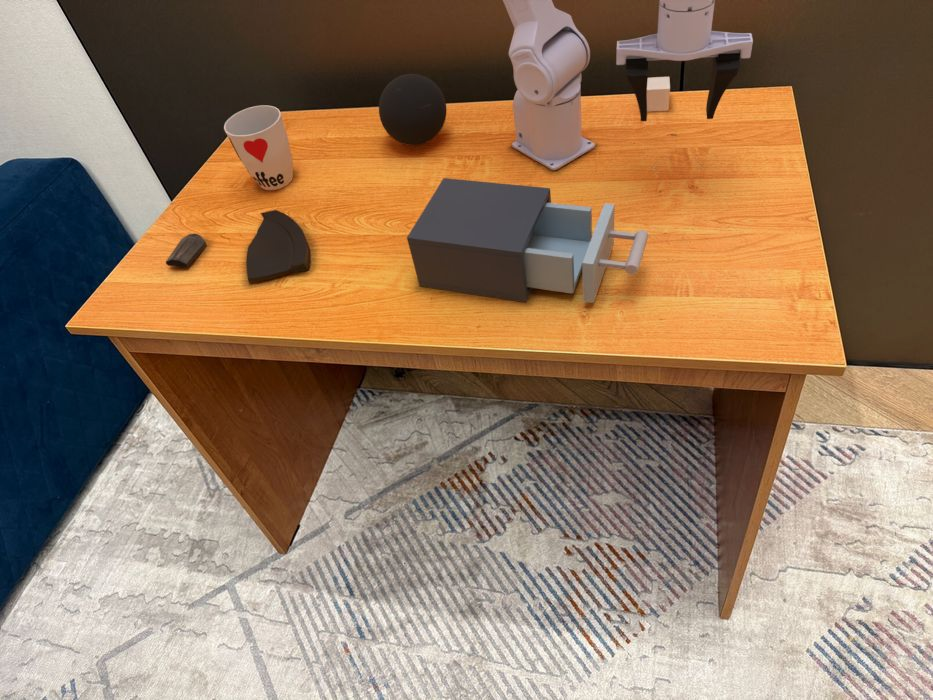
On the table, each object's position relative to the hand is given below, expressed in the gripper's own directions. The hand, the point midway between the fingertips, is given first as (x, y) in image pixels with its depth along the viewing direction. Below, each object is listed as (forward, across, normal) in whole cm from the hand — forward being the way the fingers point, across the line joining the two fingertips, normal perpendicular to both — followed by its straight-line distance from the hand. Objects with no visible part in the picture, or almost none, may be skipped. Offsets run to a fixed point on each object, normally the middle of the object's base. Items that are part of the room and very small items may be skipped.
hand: (676, 115), depth 84 cm
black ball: (+10, +37, -12) cm, 40 cm away
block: (+10, +64, +15) cm, 66 cm away
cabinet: (+9, +22, +16) cm, 29 cm away
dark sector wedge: (+10, +50, +14) cm, 53 cm away
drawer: (+8, +12, +18) cm, 23 cm away
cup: (+10, +57, -2) cm, 58 cm away
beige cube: (+9, +2, -19) cm, 21 cm away
